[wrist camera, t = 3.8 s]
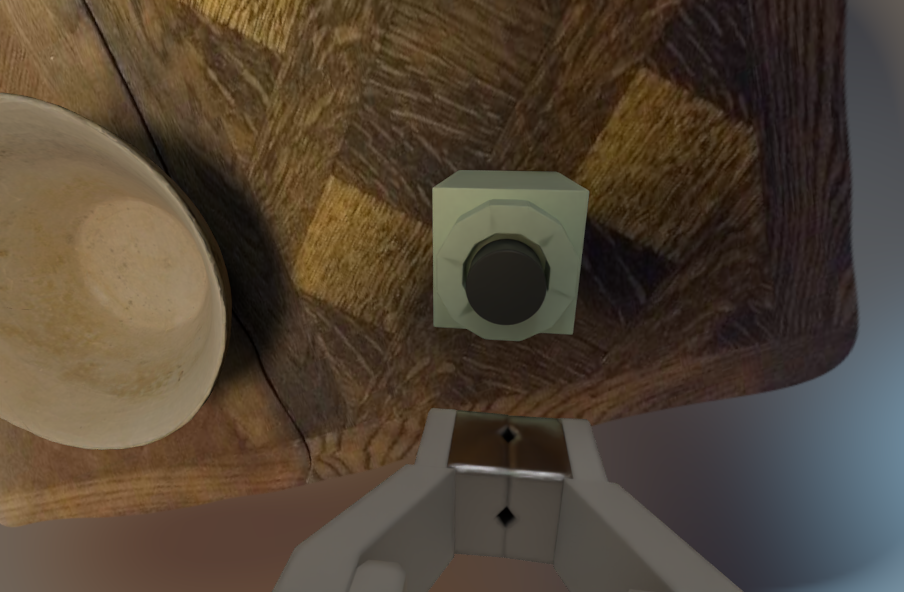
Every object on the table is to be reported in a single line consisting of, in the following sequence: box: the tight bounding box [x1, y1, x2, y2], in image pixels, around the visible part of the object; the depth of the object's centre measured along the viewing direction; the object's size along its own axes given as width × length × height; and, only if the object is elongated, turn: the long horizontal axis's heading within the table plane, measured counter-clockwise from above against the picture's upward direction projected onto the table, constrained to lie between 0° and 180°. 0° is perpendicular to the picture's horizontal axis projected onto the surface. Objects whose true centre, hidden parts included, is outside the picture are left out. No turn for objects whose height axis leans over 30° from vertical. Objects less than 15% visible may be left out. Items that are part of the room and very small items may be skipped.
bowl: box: [0, 93, 232, 450], centre depth 31 cm, size 24×24×10 cm
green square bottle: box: [432, 170, 589, 341], centre depth 25 cm, size 7×7×14 cm
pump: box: [466, 239, 547, 325], centre depth 18 cm, size 3×3×2 cm
